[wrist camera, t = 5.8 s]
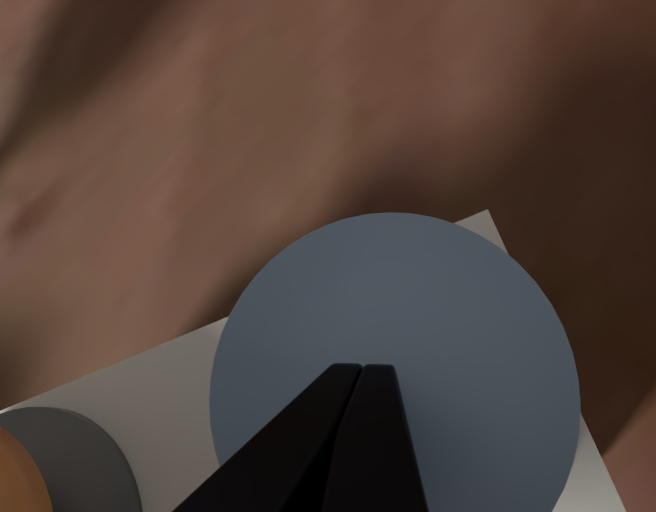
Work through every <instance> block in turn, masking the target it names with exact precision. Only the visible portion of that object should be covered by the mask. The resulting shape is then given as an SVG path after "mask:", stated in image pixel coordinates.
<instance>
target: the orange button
mask: <svg viewBox="0 0 656 512" xmlns="http://www.w3.org/2000/svg"><path fill="white" fill-rule="evenodd" d="M0 512H53V508H52V503H51V500H50V496H49V493H48V490H47V487H46V484H45V482H44V479H43V477H42V475H41V473H40V471H39V468H38V467H37V465H36V463H35V462H34V460H33V459H32V457H31V455H30V454H29V453H28V451H27V450H26V449H25V448H24V447H23V445H22V444H21V443H20V442H19V441H18V440H17V439H16V438H15V437H13V436H12V435H11V434H10V433H9V432H8V431H6V430H5V429H3V428H1V427H0Z"/></svg>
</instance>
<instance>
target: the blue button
mask: <svg viewBox="0 0 656 512" xmlns="http://www.w3.org/2000/svg"><path fill="white" fill-rule="evenodd" d="M334 363H359V364H361V365H362V366H363V367H364V366H365V365H366V364H391V365H393V366H394V367H395V369H396V373H397V377H398V382H399V386H400V390H401V394H402V399H403V403H404V407H405V411H406V416H407V420H408V424H409V428H410V433H411V437H412V441H413V445H414V449H415V454H416V458H417V462H418V466H419V471H420V475H421V479H422V483H423V488H424V492H425V496H426V500H427V505H428V509H429V512H552V511H553V509H554V507H555V505H556V503H557V501H558V499H559V497H560V496H561V494H562V492H563V490H564V488H565V485H566V482H567V479H568V477H569V474H570V471H571V468H572V465H573V462H574V458H575V453H576V448H577V443H578V438H579V430H580V411H581V403H580V390H579V379H578V374H577V369H576V365H575V360H574V356H573V352H572V349H571V346H570V343H569V341H568V338H567V335H566V333H565V330H564V327H563V325H562V323H561V321H560V319H559V318H558V316H557V314H556V312H555V310H554V308H553V306H552V304H551V303H550V301H549V300H548V298H547V297H546V296H545V294H544V293H543V291H542V290H541V288H540V287H539V286H538V284H537V283H536V282H535V281H534V279H533V278H532V277H531V276H530V275H529V274H528V273H527V272H526V271H525V270H524V269H523V268H522V266H521V265H520V264H519V263H517V262H516V261H515V260H514V259H513V258H511V257H510V256H509V255H508V254H507V253H505V252H504V251H503V250H502V249H501V248H499V247H498V246H496V245H495V244H493V243H492V242H490V241H488V240H487V239H485V238H484V237H482V236H480V235H479V234H477V233H474V232H472V231H470V230H468V229H466V228H464V227H462V226H459V225H457V224H454V223H451V222H448V221H445V220H441V219H438V218H435V217H430V216H424V215H418V214H413V213H395V212H386V213H373V214H365V215H360V216H355V217H350V218H345V219H342V220H339V221H336V222H333V223H330V224H327V225H325V226H323V227H320V228H318V229H316V230H314V231H312V232H310V233H308V234H306V235H304V236H303V237H301V238H299V239H298V240H296V241H295V242H293V243H292V244H290V245H288V246H287V247H286V248H284V249H283V250H282V251H281V252H280V253H278V254H277V255H276V256H275V257H274V258H272V259H271V260H270V261H269V262H268V263H267V264H266V265H265V266H264V267H263V268H262V269H261V270H260V271H259V272H258V274H257V275H256V276H255V277H254V278H253V279H252V281H251V282H250V283H249V285H248V286H247V287H246V289H245V290H244V291H243V293H242V294H241V296H240V297H239V299H238V301H237V303H236V304H235V306H234V308H233V309H232V311H231V313H230V315H229V317H228V320H227V322H226V324H225V327H224V329H223V331H222V333H221V337H220V340H219V343H218V346H217V350H216V353H215V357H214V362H213V368H212V373H211V380H210V395H209V408H210V426H211V431H212V437H213V443H214V449H215V452H216V456H217V459H218V462H219V466H222V465H223V464H224V463H225V462H226V461H227V460H228V459H229V458H230V457H231V456H232V455H233V454H235V453H236V452H237V451H238V450H239V449H240V448H241V447H242V446H243V445H244V444H245V443H246V442H248V441H249V440H250V439H251V438H252V437H253V436H254V435H255V434H256V433H257V432H258V431H259V430H261V429H262V428H263V427H264V426H265V425H266V424H267V423H268V422H269V421H270V420H271V419H272V418H274V417H275V416H276V415H277V414H278V413H279V412H280V411H281V410H282V409H283V408H284V407H285V406H287V405H288V404H289V403H290V402H291V401H292V400H293V399H294V398H295V397H296V396H297V395H298V394H300V393H301V392H302V391H303V390H304V389H305V388H306V387H307V386H308V385H309V384H310V383H312V382H313V381H314V380H315V379H316V378H317V377H318V376H319V375H320V374H321V373H322V372H323V371H325V370H326V369H327V368H328V367H329V366H330V365H332V364H334Z"/></svg>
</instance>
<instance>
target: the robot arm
mask: <svg viewBox="0 0 656 512" xmlns="http://www.w3.org/2000/svg"><path fill="white" fill-rule="evenodd" d="M172 512H429V509H428V505H427V500H426V496H425V492H424V488H423V483H422V479H421V475H420V471H419V466H418V462H417V458H416V454H415V449H414V445H413V441H412V437H411V433H410V428H409V424H408V420H407V416H406V411H405V407H404V403H403V399H402V394H401V390H400V386H399V382H398V377H397V373H396V369H395V367H394V366H393V365H391V364H366V365H365V366H364V367H363V366H362V365H361V364H359V363H334V364H332V365H330V366H329V367H328V368H327V369H326V370H325V371H323V372H322V373H321V374H320V375H319V376H318V377H317V378H316V379H315V380H314V381H313V382H312V383H310V384H309V385H308V386H307V387H306V388H305V389H304V390H303V391H302V392H301V393H300V394H298V395H297V396H296V397H295V398H294V399H293V400H292V401H291V402H290V403H289V404H288V405H287V406H285V407H284V408H283V409H282V410H281V411H280V412H279V413H278V414H277V415H276V416H275V417H274V418H272V419H271V420H270V421H269V422H268V423H267V424H266V425H265V426H264V427H263V428H262V429H261V430H259V431H258V432H257V433H256V434H255V435H254V436H253V437H252V438H251V439H250V440H249V441H248V442H246V443H245V444H244V445H243V446H242V447H241V448H240V449H239V450H238V451H237V452H236V453H235V454H233V455H232V456H231V457H230V458H229V459H228V460H227V461H226V462H225V463H224V464H223V465H222V466H220V467H219V468H218V469H217V470H216V471H215V472H214V473H213V474H212V475H211V476H210V477H209V478H207V479H206V480H205V481H204V482H203V483H202V484H201V485H200V486H199V487H198V488H197V489H196V490H194V491H193V492H192V493H191V494H190V495H189V496H188V497H187V498H186V499H185V500H184V501H183V502H181V503H180V504H179V505H178V506H177V507H176V508H175V509H174V510H173V511H172Z"/></svg>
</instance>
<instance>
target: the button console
mask: <svg viewBox="0 0 656 512" xmlns="http://www.w3.org/2000/svg"><path fill="white" fill-rule="evenodd" d="M454 224H457V225H459V226H462V227H464V228H466V229H468V230H470V231H472V232H474V233H477V234H479V235H480V236H482V237H484V238H485V239H487V240H488V241H490V242H492V243H493V244H495V245H496V246H498V247H499V248H501V249H502V250H503V251H504V252H505V253H507V254H508V252H507V250H506V248H505V246H504V244H503V242H502V239H501V237H500V235H499V233H498V231H497V228H496V226H495V224H494V222H493V220H492V217H491V215H490V213H489V211H488V209H487V210H485V211H482V212H480V213H477V214H475V215H473V216H470V217H468V218H465V219H463V220H460V221H458V222H456V223H454ZM228 317H229V316H228ZM228 317H226V318H223V319H221V320H219V321H216V322H214V323H211V324H209V325H206V326H204V327H202V328H199V329H197V330H194V331H192V332H190V333H187V334H185V335H182V336H180V337H177V338H175V339H173V340H170V341H168V342H165V343H163V344H161V345H158V346H156V347H153V348H151V349H148V350H146V351H144V352H141V353H139V354H136V355H134V356H132V357H129V358H127V359H124V360H122V361H119V362H117V363H115V364H112V365H110V366H107V367H105V368H102V369H100V370H98V371H95V372H93V373H90V374H88V375H86V376H83V377H81V378H78V379H76V380H73V381H71V382H69V383H66V384H64V385H61V386H59V387H57V388H54V389H52V390H49V391H47V392H44V393H42V394H40V395H37V396H35V397H32V398H30V399H28V400H25V401H23V402H20V403H18V404H15V405H13V406H11V407H8V408H6V409H3V410H1V411H0V427H1V428H3V429H5V430H6V431H8V432H9V433H10V434H11V435H12V436H13V437H15V438H16V439H17V440H18V441H19V442H20V443H21V444H22V445H23V447H24V448H25V449H26V450H27V451H28V453H29V454H30V455H31V457H32V459H33V460H34V462H35V463H36V465H37V467H38V468H39V471H40V473H41V475H42V477H43V479H44V482H45V484H46V487H47V490H48V493H49V496H50V500H51V503H52V508H53V512H172V511H173V510H174V509H175V508H176V507H177V506H178V505H179V504H180V503H181V502H183V501H184V500H185V499H186V498H187V497H188V496H189V495H190V494H191V493H192V492H193V491H194V490H196V489H197V488H198V487H199V486H200V485H201V484H202V483H203V482H204V481H205V480H206V479H207V478H209V477H210V476H211V475H212V474H213V473H214V472H215V471H216V470H217V469H218V468H219V467H220V466H219V462H218V459H217V456H216V452H215V449H214V443H213V437H212V431H211V426H210V408H209V395H210V380H211V373H212V368H213V362H214V357H215V353H216V350H217V346H218V343H219V340H220V337H221V333H222V331H223V329H224V327H225V324H226V322H227V320H228ZM552 512H626V510H625V508H624V506H623V504H622V502H621V499H620V497H619V495H618V493H617V491H616V489H615V486H614V484H613V482H612V480H611V478H610V475H609V473H608V471H607V469H606V467H605V464H604V462H603V460H602V458H601V456H600V454H599V451H598V449H597V447H596V445H595V443H594V440H593V438H592V436H591V434H590V432H589V429H588V427H587V425H586V423H585V421H584V419H583V416H582V414H581V412H580V430H579V438H578V443H577V448H576V453H575V458H574V462H573V465H572V468H571V471H570V474H569V477H568V479H567V482H566V485H565V488H564V490H563V492H562V494H561V496H560V497H559V499H558V501H557V503H556V505H555V507H554V509H553V511H552Z"/></svg>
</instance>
